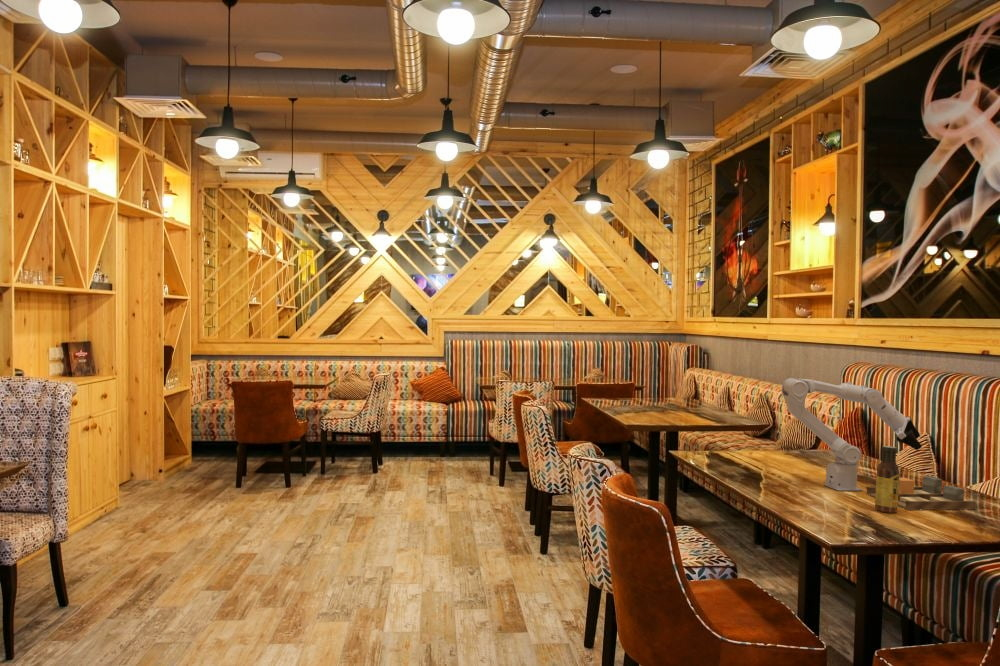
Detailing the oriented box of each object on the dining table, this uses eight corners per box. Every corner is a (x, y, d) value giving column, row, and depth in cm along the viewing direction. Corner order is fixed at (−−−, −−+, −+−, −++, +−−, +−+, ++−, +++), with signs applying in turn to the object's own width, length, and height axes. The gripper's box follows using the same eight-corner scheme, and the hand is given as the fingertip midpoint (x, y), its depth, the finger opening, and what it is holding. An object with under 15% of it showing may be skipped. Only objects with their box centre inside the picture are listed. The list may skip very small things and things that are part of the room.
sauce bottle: (896, 515, 215) (900, 449, 215) (873, 511, 219) (877, 446, 218) (898, 510, 221) (901, 446, 221) (875, 506, 224) (878, 444, 224)
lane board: (907, 510, 222) (908, 491, 222) (866, 494, 240) (867, 477, 240) (975, 509, 226) (976, 491, 226) (929, 494, 245) (930, 477, 244)
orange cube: (901, 494, 235) (902, 480, 234) (891, 490, 239) (892, 477, 239) (913, 494, 235) (914, 480, 235) (903, 490, 240) (904, 477, 240)
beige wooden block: (900, 498, 233) (901, 480, 233) (885, 492, 240) (886, 475, 240) (943, 498, 236) (944, 480, 236) (927, 492, 243) (928, 475, 243)
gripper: (900, 418, 238) (930, 447, 238) (898, 398, 250) (927, 426, 250) (882, 429, 242) (911, 457, 242) (881, 409, 254) (909, 436, 254)
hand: (918, 442), depth 246 cm, fingers open, 7 cm apart
